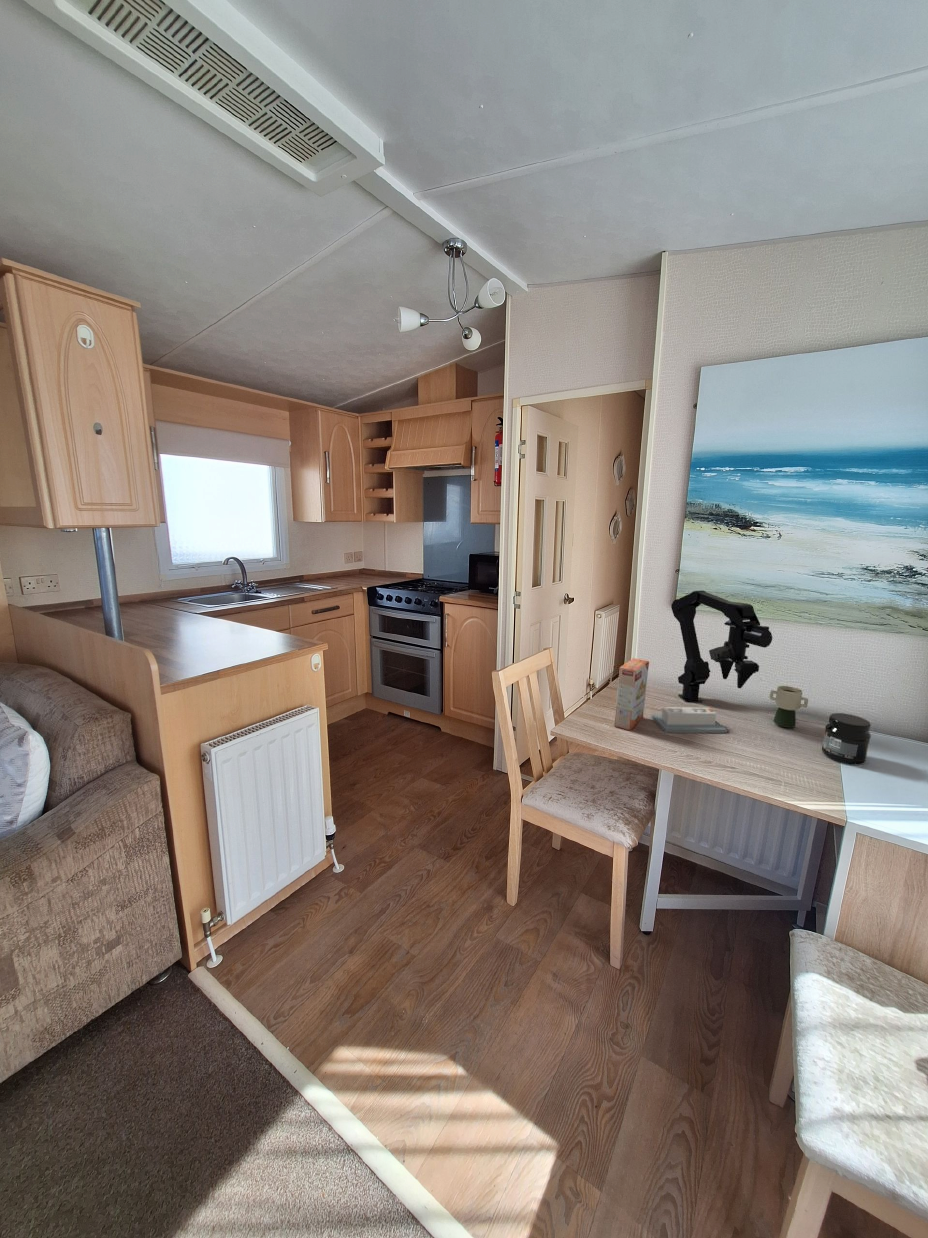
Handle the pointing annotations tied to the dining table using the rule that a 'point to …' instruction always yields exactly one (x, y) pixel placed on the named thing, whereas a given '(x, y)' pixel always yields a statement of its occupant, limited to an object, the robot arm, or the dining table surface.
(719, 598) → the robot arm
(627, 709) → the cracker box
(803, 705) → the character mug
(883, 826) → the dining table surface
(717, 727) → the stud board
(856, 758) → the supplement container
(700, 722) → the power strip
